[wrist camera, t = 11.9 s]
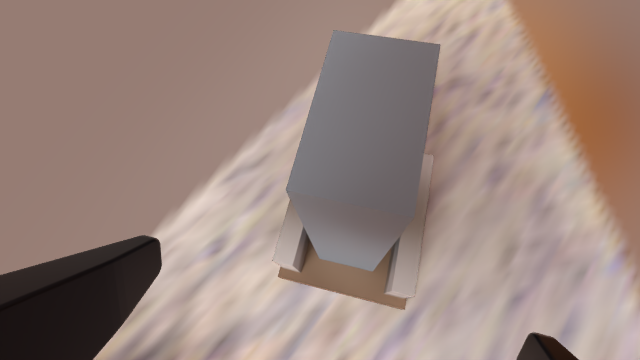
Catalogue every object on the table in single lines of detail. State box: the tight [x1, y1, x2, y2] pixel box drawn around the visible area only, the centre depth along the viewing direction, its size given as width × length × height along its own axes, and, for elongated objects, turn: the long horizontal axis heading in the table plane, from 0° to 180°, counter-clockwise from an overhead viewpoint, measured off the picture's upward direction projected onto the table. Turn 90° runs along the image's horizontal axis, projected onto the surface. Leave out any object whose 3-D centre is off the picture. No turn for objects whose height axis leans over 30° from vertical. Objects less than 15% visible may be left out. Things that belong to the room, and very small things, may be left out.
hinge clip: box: [272, 154, 434, 309], centre depth 18 cm, size 8×7×4 cm
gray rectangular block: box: [286, 30, 440, 272], centre depth 14 cm, size 6×3×12 cm, turn 166°
